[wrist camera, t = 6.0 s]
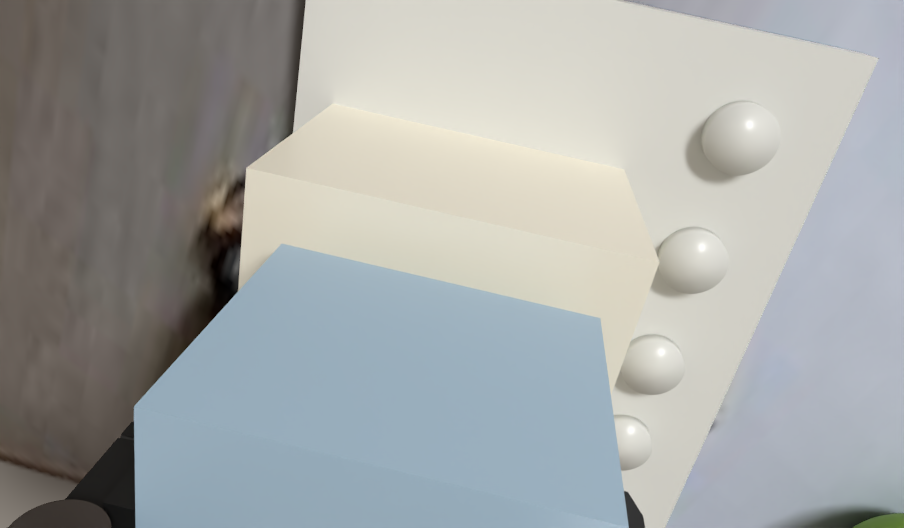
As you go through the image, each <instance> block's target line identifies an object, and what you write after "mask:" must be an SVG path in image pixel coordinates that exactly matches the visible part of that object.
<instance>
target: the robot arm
mask: <svg viewBox="0 0 904 528" xmlns="http://www.w3.org/2000/svg"><path fill="white" fill-rule="evenodd" d="M624 496H625V503H626V510H627V518H628V525H629V528H645V524H644V518H643V515H642V513H641V512H640V510H639V509H638V507H637V505H636V504H635V502H634V501H633V499H632V497H631V496H630V494H629V493H628V492H626V491H624ZM8 528H136V526H135V453H134V422H131V424H130V425H129V426H128V427H127V428H126V429H125V430H124V432H123V433H122V434H121V437H120V438H118V439H117V440H116V441H115V442H114V443H113V444H112V446H111V447H110V448H109V449H108V450H107V451H106V453H105V454H104V455H103V456H102V457H101V458H100V460H99V461H98V462H97V463H96V464H95V465H94V466H93V468H92V469H91V470H90V471H89V472H88V473H87V475H86V476H85V477H84V478H83V479H82V480H81V482H80V483H79V484H78V485H77V486H76V487H75V489H74V490H73V491H72V492H71V493H70V494H69V496H68V497H67V498H66V499H65V500H59V501H54V502H50V503H46V504H43V505H40V506H38V507H36V508H34V509H31V510H29V511H28V512H26V513H24V514H23V515H22V516H20V517H19V518H18V519H16V520H15V521H14V522H13V523H12V524H11V525H10V526H9V527H8Z"/></svg>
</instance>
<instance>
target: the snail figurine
mask: <svg viewBox="0 0 904 528" xmlns="http://www.w3.org/2000/svg"><path fill="white" fill-rule="evenodd" d="M853 528H904V513H896V514H887V515H881V516H877V517H874V518H871V519H868V520H866V521H863V522H861V523H859V524H858V525H856V526H854V527H853Z"/></svg>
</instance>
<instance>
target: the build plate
mask: <svg viewBox="0 0 904 528" xmlns="http://www.w3.org/2000/svg"><path fill="white" fill-rule="evenodd" d="M878 59H879V58H876V57H873V56H870V55H867V54H864V53H860V52H856V51H851V50H847V49H842V48H838V47H833V46H829V45H824V44H820V43H815V42H810V41H806V40H801V39H797V38H792V37H788V36H783V35H779V34H774V33H770V32H765V31H760V30H756V29H751V28H747V27H742V26H738V25H733V24H729V23H724V22H720V21H715V20H710V19H706V18H701V17H697V16H692V15H688V14H683V13H679V12H674V11H670V10H665V9H660V8H656V7H651V6H647V5H642V4H638V3H633V2H629V1H624V0H306V4H305V14H304V24H303V35H302V45H301V55H300V66H299V76H298V86H297V97H296V107H295V117H294V128H293V133H294V132H295V131H297V130H298V129H299V128H301V127H302V126H303V125H305V124H306V123H307V122H309V121H310V120H311V119H313V118H314V117H315V116H317V115H318V114H319V113H321V112H322V111H323V110H325V109H326V108H327V107H329V106H330V105H331V104H337V105H341V106H345V107H350V108H354V109H359V110H363V111H368V112H372V113H377V114H381V115H385V116H390V117H394V118H399V119H403V120H408V121H412V122H416V123H421V124H425V125H430V126H434V127H439V128H443V129H447V130H452V131H456V132H461V133H465V134H470V135H474V136H479V137H483V138H487V139H492V140H496V141H501V142H505V143H510V144H514V145H518V146H523V147H527V148H532V149H536V150H541V151H545V152H549V153H554V154H558V155H563V156H567V157H572V158H576V159H580V160H585V161H589V162H594V163H598V164H603V165H607V166H612V167H616V168H620V169H624V170H625V173H626V175H627V178H628V181H629V183H630V186H631V189H632V191H633V194H634V196H635V199H636V202H637V204H638V207H639V209H640V212H641V215H642V217H643V220H644V223H645V225H646V228H647V230H648V233H649V236H650V238H651V241H652V243H653V246H654V249H655V251H656V254H657V256H658V259H659V262H660V263H659V265H658V268H657V271H656V274H655V276H654V279H653V282H652V285H651V287H650V290H649V293H648V295H647V298H646V301H645V304H644V306H643V309H642V312H641V315H640V317H639V320H638V323H637V326H636V328H635V331H634V334H633V336H632V339H631V342H630V345H629V347H628V350H627V353H626V356H625V358H624V361H623V364H622V366H621V369H620V372H619V375H618V377H617V380H616V383H615V386H614V388H613V391H612V394H611V400H612V407H613V415H614V422H615V430H616V437H617V444H618V452H619V459H620V466H621V474H622V481H623V488H624V491H626V492H628V493H629V494H630V496H631V497H632V499H633V501H634V502H635V504H636V505H637V507H638V509H639V510H640V512H641V513H642V515H643V518H644V524H645V528H665V527H666V524H667V522H668V520H669V518H670V516H671V513H672V511H673V509H674V507H675V505H676V502H677V500H678V498H679V496H680V494H681V491H682V489H683V487H684V485H685V483H686V480H687V478H688V476H689V474H690V472H691V469H692V467H693V465H694V463H695V461H696V458H697V456H698V454H699V452H700V450H701V448H702V445H703V443H704V441H705V439H706V437H707V434H708V432H709V430H710V428H711V426H712V423H713V421H714V419H715V417H716V415H717V412H718V410H719V408H720V406H721V404H722V401H723V399H724V397H725V395H726V393H727V390H728V388H729V386H730V384H731V382H732V379H733V377H734V375H735V373H736V371H737V368H738V366H739V364H740V362H741V360H742V358H743V355H744V353H745V351H746V349H747V347H748V344H749V342H750V340H751V338H752V336H753V333H754V331H755V329H756V327H757V325H758V322H759V320H760V318H761V316H762V314H763V311H764V309H765V307H766V305H767V303H768V300H769V298H770V296H771V294H772V292H773V289H774V287H775V285H776V283H777V281H778V279H779V276H780V274H781V272H782V270H783V268H784V265H785V263H786V261H787V259H788V257H789V254H790V252H791V250H792V248H793V246H794V243H795V241H796V239H797V237H798V235H799V232H800V230H801V228H802V226H803V224H804V221H805V219H806V217H807V215H808V213H809V210H810V208H811V206H812V204H813V202H814V199H815V197H816V195H817V193H818V191H819V189H820V186H821V184H822V182H823V180H824V178H825V175H826V173H827V171H828V169H829V167H830V164H831V162H832V160H833V158H834V156H835V153H836V151H837V149H838V147H839V145H840V142H841V140H842V138H843V136H844V134H845V131H846V129H847V127H848V125H849V123H850V120H851V118H852V116H853V114H854V112H855V109H856V107H857V105H858V103H859V101H860V99H861V96H862V94H863V92H864V90H865V88H866V85H867V83H868V81H869V79H870V77H871V74H872V72H873V70H874V68H875V66H876V63H877V61H878Z"/></svg>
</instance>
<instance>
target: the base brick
mask: <svg viewBox="0 0 904 528" xmlns="http://www.w3.org/2000/svg"><path fill="white" fill-rule="evenodd" d="M281 244H286V245H290V246H294V247H299V248H303V249H307V250H312V251H316V252H320V253H324V254H329V255H333V256H337V257H341V258H346V259H350V260H354V261H359V262H363V263H367V264H371V265H376V266H380V267H384V268H388V269H393V270H397V271H401V272H405V273H410V274H414V275H418V276H423V277H427V278H431V279H435V280H440V281H444V282H448V283H452V284H457V285H461V286H465V287H470V288H474V289H478V290H482V291H487V292H491V293H495V294H499V295H504V296H508V297H512V298H517V299H521V300H525V301H529V302H534V303H538V304H542V305H546V306H551V307H555V308H559V309H563V310H568V311H572V312H576V313H581V314H585V315H589V316H593V317H598V318H600V319H601V327H602V334H603V341H604V349H605V356H606V363H607V371H608V378H609V385H610V393H611V394H612V391H613V388H614V386H615V383H616V380H617V377H618V375H619V372H620V369H621V366H622V364H623V361H624V358H625V356H626V353H627V350H628V347H629V345H630V342H631V339H632V336H633V334H634V331H635V328H636V326H637V323H638V320H639V317H640V315H641V312H642V309H643V306H644V304H645V301H646V298H647V295H648V293H649V290H650V287H651V285H652V282H653V279H654V276H655V274H656V271H657V268H658V265H659V263H660V262H659V259H658V256H657V254H656V251H655V249H654V246H653V243H652V241H651V238H650V236H649V233H648V230H647V228H646V225H645V223H644V220H643V217H642V215H641V212H640V209H639V207H638V204H637V202H636V199H635V196H634V194H633V191H632V189H631V186H630V183H629V181H628V178H627V175H626V173H625V170H624V169H620V168H616V167H612V166H607V165H603V164H598V163H594V162H589V161H585V160H580V159H576V158H572V157H567V156H563V155H558V154H554V153H549V152H545V151H541V150H536V149H532V148H527V147H523V146H518V145H514V144H510V143H505V142H501V141H496V140H492V139H487V138H483V137H479V136H474V135H470V134H465V133H461V132H456V131H452V130H447V129H443V128H439V127H434V126H430V125H425V124H421V123H416V122H412V121H408V120H403V119H399V118H394V117H390V116H385V115H381V114H377V113H372V112H368V111H363V110H359V109H354V108H350V107H345V106H341V105H337V104H331V105H330V106H329V107H327V108H326V109H325V110H323V111H322V112H321V113H319V114H318V115H317V116H315V117H314V118H313V119H311V120H310V121H309V122H307V123H306V124H305V125H303V126H302V127H301V128H299V129H298V130H297V131H295V132H294V133H293V134H291V135H290V136H289V137H287V138H286V139H285V140H283V141H282V142H280V143H279V144H278V145H276V146H275V147H274V148H272V149H271V150H270V151H268V152H267V153H266V154H264V155H263V156H262V157H260V158H259V159H258V160H256V161H255V162H254V163H252V164H251V165H250V166H248V167H247V168H246V182H245V197H244V212H243V226H242V241H241V256H240V270H239V285H238V291H239V290H240V289H241V288H242V287H243V286H244V285H245V284H246V282H247V281H248V280H249V279H250V278H251V277H252V276H253V275H254V274H255V272H256V271H257V270H258V269H259V268H260V267H261V266H262V265H263V264H264V263H265V261H266V260H267V259H268V258H269V257H270V256H271V255H272V254H273V253H274V252H275V250H276V249H277V248H278V247H279V246H280V245H281Z"/></svg>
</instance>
